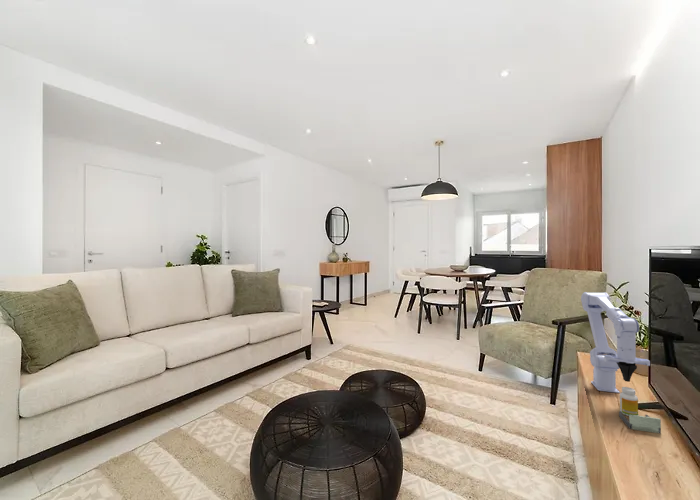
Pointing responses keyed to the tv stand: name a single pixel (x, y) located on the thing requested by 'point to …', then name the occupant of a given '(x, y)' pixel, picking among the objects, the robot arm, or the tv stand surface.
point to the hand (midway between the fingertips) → (626, 380)
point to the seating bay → (642, 423)
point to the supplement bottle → (628, 401)
